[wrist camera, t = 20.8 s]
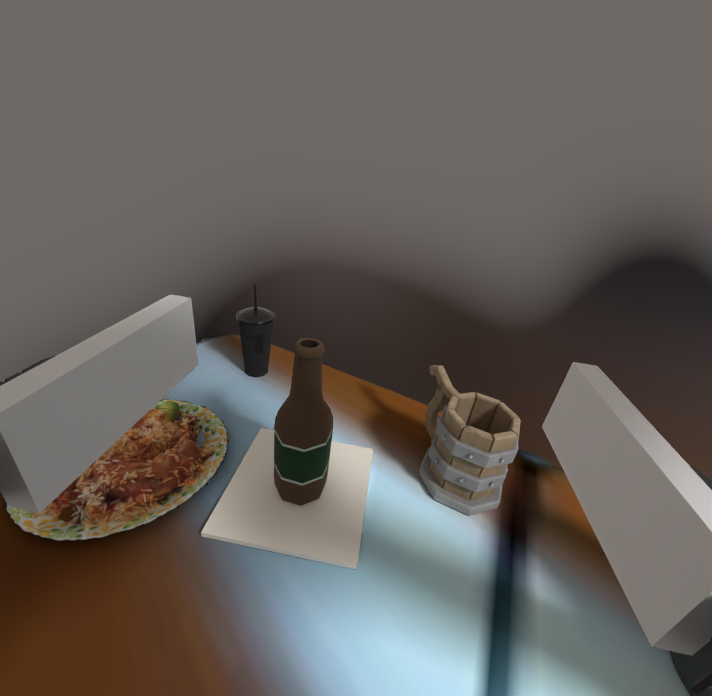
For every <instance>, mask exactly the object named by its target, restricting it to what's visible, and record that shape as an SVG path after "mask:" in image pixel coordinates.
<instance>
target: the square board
mask: <svg viewBox="0 0 712 696" xmlns="http://www.w3.org/2000/svg"><path fill="white" fill-rule="evenodd" d="M372 454H373V449H369V448H364V447H359V446H354V445H348V444H343V443H338V442H333V441H331V449H330V458H329V467H328V475H327V480H326V484H325V486H324V488H323V491H322V493H321V496H320V498H319V499H316V500H314V501H311V502H309V503H307V504H304V505H302V506H300V505H296V504H293V503H290V502H287V501H283V500H282V499H281V497H280V495H279V493H278V490H277V488H276V486H275V484H274V430H270V429H265V428H261V429H260V430H259V432H258V434H257V436H256V437H255V439H254V441H253V443H252V444H251V446H250V448H249V450H248V451H247V453H246V455H245V457H244V458H243V460H242V462H241V464H240V465H239V467H238V469H237V470H236V472H235V474H234V476H233V477H232V479H231V481H230V483H229V484H228V486H227V488H226V490H225V491H224V493H223V495H222V497H221V498H220V500H219V502H218V504H217V505H216V507H215V509H214V511H213V512H212V514H211V516H210V518H209V519H208V521H207V523H206V524H205V526H204V528H203V530H202V531H201V536H202V537H207V538H211V539H216V540H221V541H225V542H230V543H235V544H239V545H244V546H248V547H253V548H258V549H262V550H267V551H272V552H276V553H281V554H286V555H290V556H295V557H299V558H304V559H309V560H313V561H318V562H323V563H327V564H332V565H336V566H341V567H346V568H350V569H355V570H357V565H358V557H359V550H360V543H361V535H362V528H363V521H364V513H365V506H366V499H367V491H368V484H369V477H370V469H371V462H372Z"/></svg>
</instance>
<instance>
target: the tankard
mask: <svg viewBox="0 0 712 696" xmlns="http://www.w3.org/2000/svg"><path fill="white" fill-rule="evenodd" d="M430 374H431V375H436V378H437V381H438V384H439V385H438V388H437V391H436V393H435V396H434V398H433V399H432V401H431V402H430V404H429V405H428V407H427V411H426V430H427V431H428V433H429V435H430V437H431V439H432V440H431V442H432V444H431V447H430V448H428V450H427V452H426V455H425V457H424V459H423V461H422V464H421V466H420V469H419V472H418V473H419V475H420V477H421V478H422V480H423V482H424V483H425V485H426V487H427V488H428V490H429V492H430V493H431V495H432V497H433V498H434V500H436V501H438V502H440V503H442V504H445V505H447V506H449V507H451V508H453V509H455V510H457V511H460V512H462V513H464V514H466V515H468V516H469V515H473V514H477V513H481V512H485V511H488V510H492V509H496V508H498V505H499V503H500V498H501V491H502V484H503V482H504V479H505V477H506V472H507V471H508V469H507V464H508V463H512V462H513V460H514V458H515V455H516V453H517V449H518V438H519V430H520V419H519V417H518V416H517V415H516V414H515V413H514V412H512V411H511V410H510V409H509V408H508V407H507V406H506V405H505V404H504V403H503V402H501V403H500V401H499V400H497V399H494V398H491V397H488V396H485V395H482V394H479V393H474V392H472V393H464V394H459V393H458V392H457V391H456V390H455V389H454V388H453V386H452V384H451V382H450V380H449V378H448V376H447V374H446V371H445V369H444V367H443V366H437V365H434V366H430ZM447 397H448V398H449V399H450V401H449V403H448V405H445V407H444V409H443V412H442V414H441V416H439V417H438V420H439V421H438V424H437V415H438V412H439V411H440V410H441V408H442V407H443V406H444V404H445V402H446V400H447Z"/></svg>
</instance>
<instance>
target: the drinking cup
mask: <svg viewBox="0 0 712 696" xmlns="http://www.w3.org/2000/svg"><path fill="white" fill-rule="evenodd" d="M253 294H254V307H252V308H247V309H243V310H241V311H239V312H238V313H237V314H236V318H237V320H238V324H239V331H240V338H241V344H242V351H243V358H244V365H245V371H246V374H247V375H249V376H252V377H260V376H263V375H265V374H266V373H267V372H268V365H269V356H270V346H271V336H272V327H273V320H274V319H275V315H274V313H273V312H272V311H269V310H267V309H264V308H259V307H257V285H253Z"/></svg>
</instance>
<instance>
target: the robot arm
mask: <svg viewBox="0 0 712 696" xmlns="http://www.w3.org/2000/svg"><path fill="white" fill-rule="evenodd" d="M197 365H198V356H197V347H196V339H195V331H194V321H193V312H192V303H191V298H187V297H182V296H176V295H169V296H167V297H165V298H163V299H161V300H159V301H157V302H156V303H154V304H152V305H150V306H148V307H146V308H144V309H143V310H141V311H139V312H137V313H135V314H133V315H131V316H130V317H128V318H126V319H124V320H122V321H120V322H118V323H117V324H115V325H113V326H111V327H109V328H107V329H105V330H103V331H102V332H100V333H98V334H96V335H94V336H92V337H90V338H89V339H87V340H85V341H83V342H81V343H79V344H77V345H76V346H74V347H72V348H70V349H68V350H66V351H65V352H63V353H61V354H59V355H56V356H53V357H50V358H47V359H44V360H41V361H39V362H37V363H35V364H34V365H32V366H30V367H28V368H26V369H24V370H22V373H17V374H15V375H13V376H11V377H9V378H7V379H5V382H0V492H1V493H2V495H3V497H4V499H5V501H6V503H7V505H8V506H10V507H14V508H19V509H23V510H28V511H33V512H37V513H40V512H41V511H42V510H43V509H45V508H46V507H47V506H48V505H49V504H50V503H51V502H52V501H53V500H54V499H55V498H56V497H57V496H58V495H60V494H61V493H62V492H63V491H64V490H65V489H66V488H67V487H68V486H69V485H70V484H71V483H72V482H73V481H74V480H76V479H77V478H78V477H79V476H80V475H81V474H82V473H83V472H84V471H85V470H86V469H87V468H88V467H89V466H91V465H92V464H93V463H94V462H95V461H96V460H97V459H98V458H99V457H100V456H101V455H102V454H103V453H104V452H106V451H107V450H108V449H109V448H110V447H111V446H112V445H113V444H114V443H115V442H116V441H117V440H118V439H119V438H120V437H122V436H123V435H124V434H125V433H126V432H127V431H128V430H129V429H130V428H131V427H132V426H133V425H134V424H135V423H137V422H138V421H139V420H140V419H141V418H142V417H143V416H144V415H145V414H146V413H147V412H148V411H149V410H150V409H151V408H153V407H154V406H155V405H156V404H157V403H158V402H159V401H160V400H161V399H162V398H163V397H164V396H165V395H166V394H168V393H169V392H170V391H171V390H172V389H173V388H174V387H175V386H176V385H177V384H178V383H179V382H180V381H181V380H183V379H184V378H185V377H186V376H187V375H188V374H189V373H190V372H191V371H192V370H193V369H194V368H195V367H196V366H197ZM542 428H543V430H544V432H545V434H546V436H547V438H548V440H549V442H550V443H551V446H552V448H553V450H554V452H555V454H556V456H557V458H558V460H559V462H560V464H561V466H562V468H563V470H564V472H565V474H566V476H567V478H568V480H569V482H570V484H571V486H572V488H573V490H574V492H575V494H576V496H577V498H578V500H579V502H580V504H581V506H582V508H583V510H584V512H585V514H586V516H587V518H588V520H589V522H590V524H591V526H592V528H593V530H594V532H595V534H596V536H597V538H598V540H599V543H600V545H601V547H602V549H603V551H604V553H605V555H606V557H607V559H608V561H609V563H610V565H611V567H612V569H613V571H614V573H615V575H616V577H617V579H618V581H619V583H620V585H621V587H622V589H623V591H624V593H625V595H626V597H627V599H628V601H629V603H630V605H631V607H632V609H633V611H634V613H635V615H636V617H637V619H638V621H639V623H640V625H641V627H642V629H643V631H644V633H645V635H646V637H647V639H648V641H649V643H650V645H651V647H654V648H659V649H663V650H668V651H670V652H671V655H672V658H673V661H674V664H675V666H676V668H677V671H678V673H679V675H680V677H681V679H682V681H683V682H684V684H685V686H686V688H687V689H688V691H689V693H690V694H691V696H712V481H711V480H710V479H709V478H707V477H706V476H704V475H703V474H702V473H701V472H699V471H698V470H697V469H695V468H694V467H693V466H689V465H688V464H687V463H686V462H685V461H684V460H683V459H682V458H681V457H680V456H679V454H678V453H677V452H676V451H675V450H674V449H673V448H672V447H671V446H670V444H669V443H668V442H667V441H666V440H665V439H664V438H663V437H662V436H661V435H660V434H659V433H658V431H657V430H656V429H655V428H654V427H653V426H652V425H651V424H650V423H649V422H648V421H647V420H646V418H645V417H644V416H643V415H642V414H641V413H640V412H639V411H638V410H637V409H636V408H635V406H634V405H633V404H632V403H631V402H630V401H629V400H628V399H627V398H626V397H625V396H624V394H623V393H622V392H621V391H620V390H619V389H618V388H617V387H616V386H615V385H614V384H613V383H612V381H611V380H610V379H609V378H608V377H607V376H606V375H605V374H604V373H603V372H602V371H601V370H600V368H599V367H598V366H594V365H588V364H582V363H576V362H573V364H572V366H571V368H570V370H569V372H568V374H567V376H566V378H565V380H564V382H563V384H562V386H561V388H560V391H559V393H558V395H557V397H556V399H555V401H554V403H553V405H552V407H551V409H550V411H549V413H548V415H547V417H546V420H545V422H544V424H543V426H542Z"/></svg>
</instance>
